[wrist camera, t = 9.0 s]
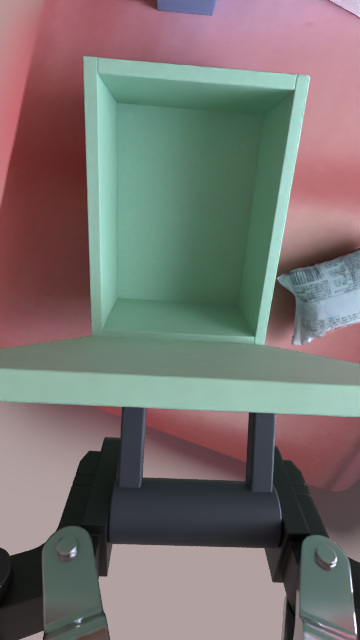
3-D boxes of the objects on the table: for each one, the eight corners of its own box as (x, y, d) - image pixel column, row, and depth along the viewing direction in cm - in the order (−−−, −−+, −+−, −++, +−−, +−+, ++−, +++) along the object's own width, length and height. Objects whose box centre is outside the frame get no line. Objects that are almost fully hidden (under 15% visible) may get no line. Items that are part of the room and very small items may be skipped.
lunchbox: (108, 92, 30) (82, 55, 22) (272, 105, 31) (310, 75, 22) (110, 302, 38) (91, 338, 29) (243, 310, 38) (263, 347, 30)
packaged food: (390, 308, 38) (419, 324, 34) (287, 338, 40) (301, 358, 35) (381, 232, 36) (412, 239, 31) (270, 268, 37) (283, 279, 32)
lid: (-104, 363, 8) (-120, 596, 8) (503, 392, 9) (496, 610, 8) (90, 335, 29) (86, 400, 28) (265, 344, 29) (262, 408, 29)
